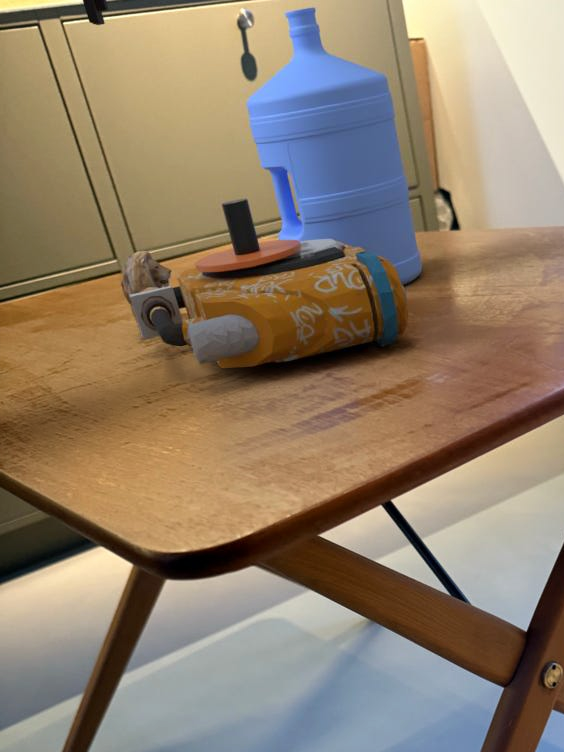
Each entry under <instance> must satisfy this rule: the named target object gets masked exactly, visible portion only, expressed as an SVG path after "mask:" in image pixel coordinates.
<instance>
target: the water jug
mask: <svg viewBox="0 0 564 752" xmlns="http://www.w3.org/2000/svg"><path fill="white" fill-rule="evenodd" d="M284 15H285V17H286V19H287V22H288V26H289V29H288V33H289V37H290V39H291V44H292V48H293V49H292V50H293V55H292V57H291V59H290V60H289V62H287V63H286V65H284V66H283V67H282V68H280V70H279V71H277V72H276V73H275V74H274V75H273V76H272V77H271V78H269V80H267V81H266V82H265V83H264V84H263V85H261V86H260V87H259V89H257V90H256V91H255V92H254V93H253V94H251V96H249V97H248V99H247V100H246V108H247V112H248V116H249V118H248V121H249V126H250V131H251V135H252V138H253V142H254V144H255V145H256V150H257V153H258V158H259V162H260V166H261V168H262V169H264V170H268V171H269V173H270V176H271V177H270V178H271V180H272V184H273V190H274V192H275V193H274V194H275V197H276V201H277V206H278V211H279V214H280V219H281V223H282V225H281V226H282V227H281V230H280V231H279V232H278V237H277V238H278V240H297V241H299V242H301V241H307V240H318V239H333V240H335V241H338V242H341V243H343V244H346V245H349V246H351V247H354V248H356V247H360V248H362V249H364V250H366V251H368V252H371V253H373V254H375V255H378V256H380V257H382V258H385V259H387V260H388V261H389V262H390V263H391V264H392V265H393V266H394V267H395V269H396V270H397V273H398V275H399V278H400V281H401V284H402V285H403V286H404V285H407V284H409V283H410V282H412V281H414V280H415V279H417V278H418V277H419V275H420V274H421V272H422V269H423V264H422V259H421V253H420V250H419V248H418V244H417V238H416V233H415V227H414V221H413V216H412V215H413V214H412V211H411V204H410V191H409V184H408V179H407V175H406V173H405V171H404V165H403V158H402V154H401V149H400V143H399V137H398V132H397V131H398V130H397V127H396V119H395V116H396V114H395V107H394V102H393V97H392V93H391V92H390V88H389V82H388V78H387V76H386V74H384V73H382V72H380V71H377V70H374V69H371V68H368V67H366V66H363V65H362V64H361V65H360V64H358V63H355V62H353V61H350V60H346V59H345V58H341V57H339V56H336V55H334V54H330V53H329V52H327V51H326V49H325V47H324V46H323V44H322V39H321V34H320V33H321V30H320V25H319V24H318V22H317V17H316V7H315V6H314V7H305V8H301V9H295V10H291V11H286V12H284ZM288 174H289V175H290V177H291V182H292V183H291V184H292V187H293V191H294V195H295V200H296V204H297V209H298V213H299V217H298V213H297V210H296V206H295V202H294V197H293V193H292V188H291V184H290V180H289V175H288Z"/></svg>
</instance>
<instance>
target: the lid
mask: <svg viewBox="0 0 564 752" xmlns="http://www.w3.org/2000/svg"><path fill="white" fill-rule="evenodd" d="M221 207H222V208H221V209H222V211H223V215H224V218H225V223H226V227H227V230H228V234H229V238H230V241H231V245H232V248H228V249H225V250H221V251H218V252H215V253H212V254H209V255H206V256H203V257H201V258H199V259H198V260H196V261H195V263H194V265H195V268H196V269H197V271H199V272H222V271H230V270H237V269H242V268H248V267H252V266H257V265H261V264H265V263H269V262H273V261H276V260H280V259H283V258H286V257H288V256H291V255H293V254H295V253H297V252H299V251H300V250H301V244H300V242H299V241H297V240H279V239H278V240H277V239H276V240H269V241H262V242H259V240H258V236H257V232H256V226H255V224H254V220H253V216H252V212H251V208H250V207H251V206H250V203H249V200H248V198H240V199H233V200H229V201H226V202H225V201H224V202H223V203H221Z"/></svg>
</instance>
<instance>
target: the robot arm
mask: <svg viewBox="0 0 564 752" xmlns="http://www.w3.org/2000/svg"><path fill="white" fill-rule="evenodd" d="M107 2H108V1H107V0H82V3H83V6H84V9H85V12H86V16H87V19H88V22H89V23H90V24H93V25H96V26H101V25H105V19H104V16H103V12H105V11H106V12H107V11H109V6H108V3H107Z"/></svg>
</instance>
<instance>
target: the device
mask: <svg viewBox="0 0 564 752" xmlns="http://www.w3.org/2000/svg"><path fill="white" fill-rule="evenodd" d="M300 244H301V250H300V251H299V252H297V253H295V254H293V255H291V256H288V257H286V258H283V259H280V260H276V261H273V262H269V263H265V264H261V265H257V266H252V267H248V268H242V269H237V270H230V271H222V272H199V271H197V269H196V267H195V268H190V269H186V270H182V271H177V277H176V278H177V282H178V285H179V286H174V287H173V286H172V285H169V286H168V287H163V286H162V288H157V287H149V288H147V289H145V290H143V291H142V292H140V293H136V294H131V295H130V299H131V302H132V305H133V308H134V311H135V315H136V318H137V321H138V324H139V327H140V328H139V331H140V330H141V332H140V333H141V334H142V337H143V339H142V340H148V339H151V338H155V337H160V339H161V340H162V342H163V343H164V344H166V345H170V346H172V347H185V346H188V347H189V348H192V350H193V353H194V356H195V359H196V361H197V362H198V363H199V364H200V365H204V364H208V363H217V364H218V366H219V367H220V369H226V368H227V369H229V368H244V367H257V366H260V365H263V364H267V363H284V362H292V361H295V360H299V359H303V358H307V357H311V356H316V355H320V354H324V353H328V352H329V353H330V352H333V351H337V350H341V349H346V348H350V347H354V346H358V345H362V344H366V343H370V342H373V341H375V342H376V343H377V344H379V345H380V346H382V347H385V346H389V345H392V344H394V343H395V342H396V343H397V341H398V336H399V335H401V334H404V333H405V331H406V329H407V328H408V322H409V312H408V306H407V305H408V304H407V302H408V299H407V292H406V289H405V287H404V285H402V284H401V281H400V278H399V275H398V273H397V270H396V269H395V267H394V266H393V265H392V264H391V263H390V262H389V261H388V260H387V259H385V258H382V257H380V256H378V255H375V254H373V253H371V252H368V251H366V250H364V249H362V248H360V247H356V248H354V247H351V246H349V245H346V244H343V243H341V242H338V241H335V240H333V239H318V240H307V241H301V242H300ZM184 308H185V310H186V313H187V317H188V319H185V320H183V317H182V314H181V309H184Z"/></svg>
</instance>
